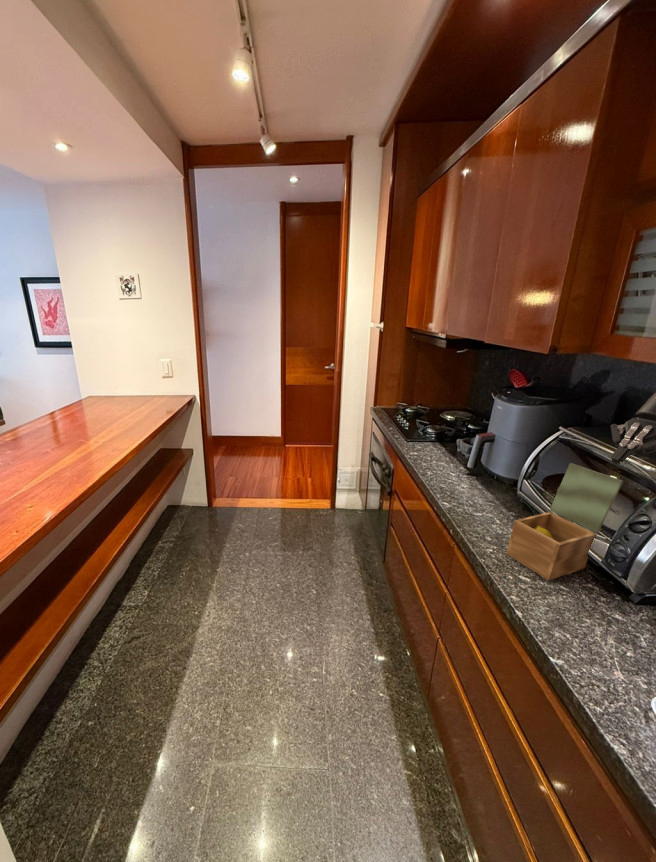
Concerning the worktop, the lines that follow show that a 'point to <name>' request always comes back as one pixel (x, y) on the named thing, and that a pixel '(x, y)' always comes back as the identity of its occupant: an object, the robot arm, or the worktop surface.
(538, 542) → the box
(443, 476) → the worktop surface
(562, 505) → the caddy lid
